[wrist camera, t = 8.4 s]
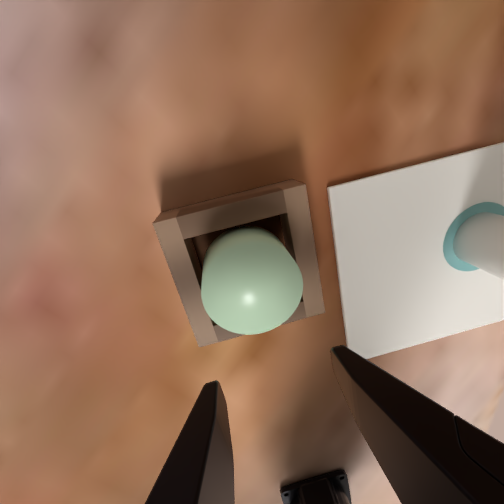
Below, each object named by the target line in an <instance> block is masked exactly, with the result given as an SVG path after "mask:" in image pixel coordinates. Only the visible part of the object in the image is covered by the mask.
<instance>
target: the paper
mask: <svg viewBox="0 0 504 504" xmlns="http://www.w3.org/2000/svg"><path fill="white" fill-rule="evenodd" d="M327 192H328V200H329V208H330V216H331V224H332V232H333V240H334V248H335V256H336V264H337V272H338V280H339V288H340V296H341V304H342V312H343V320H344V328H345V336H346V344H347V348H349V349H351V350H352V351H354V352H355V353H357V354H359V355H360V356H362V357H363V358H365V359H369V358H372V357H376V356H379V355H383V354H386V353H390V352H393V351H397V350H400V349H404V348H407V347H411V346H414V345H418V344H421V343H425V342H429V341H432V340H436V339H439V338H443V337H446V336H450V335H453V334H457V333H460V332H464V331H467V330H471V329H474V328H478V327H481V326H485V325H488V324H492V323H495V322H499V321H502V320H504V280H503V279H501V278H499V277H497V276H495V275H493V274H490V273H488V272H486V271H484V270H482V269H479V268H477V267H475V266H473V265H471V264H469V263H466V262H464V261H462V260H460V259H459V258H458V257H457V256H456V255H455V253H454V250H453V240H454V237H455V234H456V232H457V230H458V229H459V227H460V226H461V225H462V224H463V223H464V222H465V221H466V220H467V219H468V218H470V217H471V216H473V215H475V214H478V213H481V212H490V213H494V214H498V215H502V216H504V142H501V143H498V144H494V145H490V146H486V147H482V148H478V149H474V150H470V151H466V152H463V153H459V154H455V155H451V156H447V157H443V158H439V159H435V160H431V161H427V162H424V163H420V164H416V165H412V166H408V167H404V168H400V169H396V170H392V171H389V172H385V173H381V174H377V175H373V176H369V177H365V178H361V179H357V180H354V181H350V182H346V183H342V184H338V185H334V186H330V187H327Z"/></svg>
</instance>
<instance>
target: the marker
mask: <svg viewBox="0 0 504 504" xmlns="http://www.w3.org/2000/svg"><path fill="white" fill-rule="evenodd" d="M453 250H454V253H455V255H456V256H457V257H458V258H459V259H460V260H462V261H464V262H466V263H469V264H471V265H473V266H475V267H477V268H479V269H482V270H484V271H486V272H488V273H490V274H493V275H495V276H497V277H499V278H501V279H503V280H504V216H502V215H498V214H494V213H490V212H481V213H478V214H475V215H473V216H471V217H470V218H468V219H467V220H466V221H465V222H464V223H463V224H462V225H461V226H460V227H459V229H458V230H457V232H456V234H455V237H454V240H453Z"/></svg>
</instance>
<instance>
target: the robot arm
mask: <svg viewBox="0 0 504 504" xmlns="http://www.w3.org/2000/svg"><path fill="white" fill-rule="evenodd" d="M330 352H331V359H332V365H333V370H334V373H335V376H336V378H337V381H338V383H339V385H340V387H341V390H342V392H343V394H344V397H345V399H346V401H347V403H348V406H349V408H350V410H351V413H352V415H353V417H354V419H355V421H356V423H357V425H358V427H359V429H360V431H361V433H362V435H363V436H364V438H365V440H366V442H367V443H368V445H369V447H370V449H371V450H372V452H373V454H374V456H375V457H376V459H377V461H378V463H379V465H380V466H381V468H382V470H383V472H384V473H385V475H386V477H387V479H388V480H389V482H390V484H391V486H392V487H393V489H394V491H395V493H396V494H397V496H398V498H399V500H400V502H401V503H402V504H504V444H503V443H502V442H500V441H498V440H496V439H495V438H493V437H492V436H490V435H488V434H487V433H485V432H483V431H482V430H480V429H478V428H477V427H475V426H473V425H472V424H470V423H468V422H467V421H465V420H464V419H462V418H460V417H459V416H457V415H455V416H454V414H453V413H452V412H450V411H449V410H447V409H446V408H444V407H442V406H441V405H439V404H438V403H436V402H434V401H433V400H431V399H429V398H428V397H426V396H425V395H423V394H421V393H420V392H418V391H417V390H415V389H413V388H412V387H410V386H409V385H407V384H405V383H404V382H402V381H400V380H399V379H397V378H396V377H394V376H392V375H391V374H389V373H388V372H386V371H384V370H383V369H381V368H380V367H378V366H376V365H375V364H373V363H371V362H370V361H368V360H367V359H365V358H363V357H362V356H360V355H359V354H357V353H355V352H354V351H352V350H351V349H349V348H347V347H346V346H344V345H340V346H336V347H333V348H331V350H330ZM280 493H281V497H282V501H283V504H351V498H350V491H349V485H348V479H347V475H346V472H345V471H344V470H339V471H335V472H332V473H329V474H325V475H322V476H319V477H315V478H312V479H309V480H305V481H302V482H299V483H295V484H292V485H289V486H285V487H283V488H281V490H280ZM145 504H235V502H234V463H233V451H232V443H231V435H230V427H229V419H228V411H227V404H226V400H225V397H224V394H223V391H222V389H221V386H220V383H219V382H218V381H217V380H216V381H212V382H209V383H206V384H205V385H204V386H203V388H202V390H201V392H200V394H199V396H198V398H197V400H196V402H195V404H194V406H193V408H192V410H191V412H190V414H189V416H188V418H187V420H186V422H185V424H184V426H183V428H182V430H181V432H180V434H179V436H178V438H177V440H176V442H175V444H174V446H173V448H172V450H171V452H170V454H169V456H168V458H167V460H166V462H165V464H164V466H163V468H162V470H161V472H160V474H159V476H158V478H157V480H156V482H155V484H154V486H153V488H152V490H151V492H150V494H149V496H148V498H147V500H146V502H145Z"/></svg>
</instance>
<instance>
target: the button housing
mask: <svg viewBox="0 0 504 504" xmlns="http://www.w3.org/2000/svg"><path fill="white" fill-rule="evenodd" d="M276 215H279V216H280V221H281V226H282V231H283V236H284V241H285V246H286V249H287V251H288V252H289V254H290V255H291V256H292V258H293V259H294V260H295V262H296V263H297V265H298V267H299V269H300V271H301V274H302V278H303V292H302V297H301V300H300V303H299V305H298V307H297V308H296V310H295V311H294V313H293V314H292V315H291V316H290V317H289V318H288V319H287V320H286V321H285V322H284V323H282V324H286V323H290V322H293V321H297V320H300V319H304V318H308V317H311V316H315V315H319V314H322V313H325V308H324V301H323V294H322V288H321V281H320V275H319V268H318V262H317V255H316V249H315V242H314V236H313V229H312V222H311V216H310V209H309V203H308V196H307V190H306V184H304V183H301V182H299V181H296V180H294V179H291V180H287V181H283V182H279V183H275V184H271V185H267V186H263V187H259V188H255V189H251V190H247V191H244V192H240V193H236V194H232V195H228V196H224V197H220V198H216V199H212V200H208V201H204V202H200V203H196V204H192V205H188V206H185V207H181V208H177V209H173V210H169V211H165V212H161V213H160V214H159V216H158V217H157V218H156V220H155V221H154V222H153V226H154V229H155V231H156V234H157V237H158V239H159V242H160V245H161V247H162V250H163V253H164V255H165V258H166V261H167V263H168V266H169V269H170V271H171V274H172V277H173V279H174V282H175V285H176V287H177V290H178V293H179V295H180V298H181V301H182V303H183V306H184V309H185V311H186V314H187V316H188V319H189V322H190V324H191V327H192V330H193V332H194V335H195V338H196V340H197V343H198V346H199V347H203V346H206V345H210V344H213V343H217V342H221V341H224V340H228V339H232V338H235V337H239V336H242V335H245V334H238V333H234V332H231V331H228V330H226V329H224V328H222V327H220V326H219V325H217V324H216V323H215V322H214V321H213V320H212V319H211V318H210V317H209V315H208V314H207V312H206V310H205V308H204V306H203V302H202V297H201V285H202V270H201V267H200V264H199V260H198V257H197V254H196V251H195V248H194V245H193V242H192V239H191V237H195V236H198V235H202V234H206V233H210V232H214V231H218V230H222V229H225V228H229V227H233V226H237V225H241V224H245V223H249V222H252V221H256V220H260V219H264V218H268V217H272V216H276ZM282 324H281V325H282Z"/></svg>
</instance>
